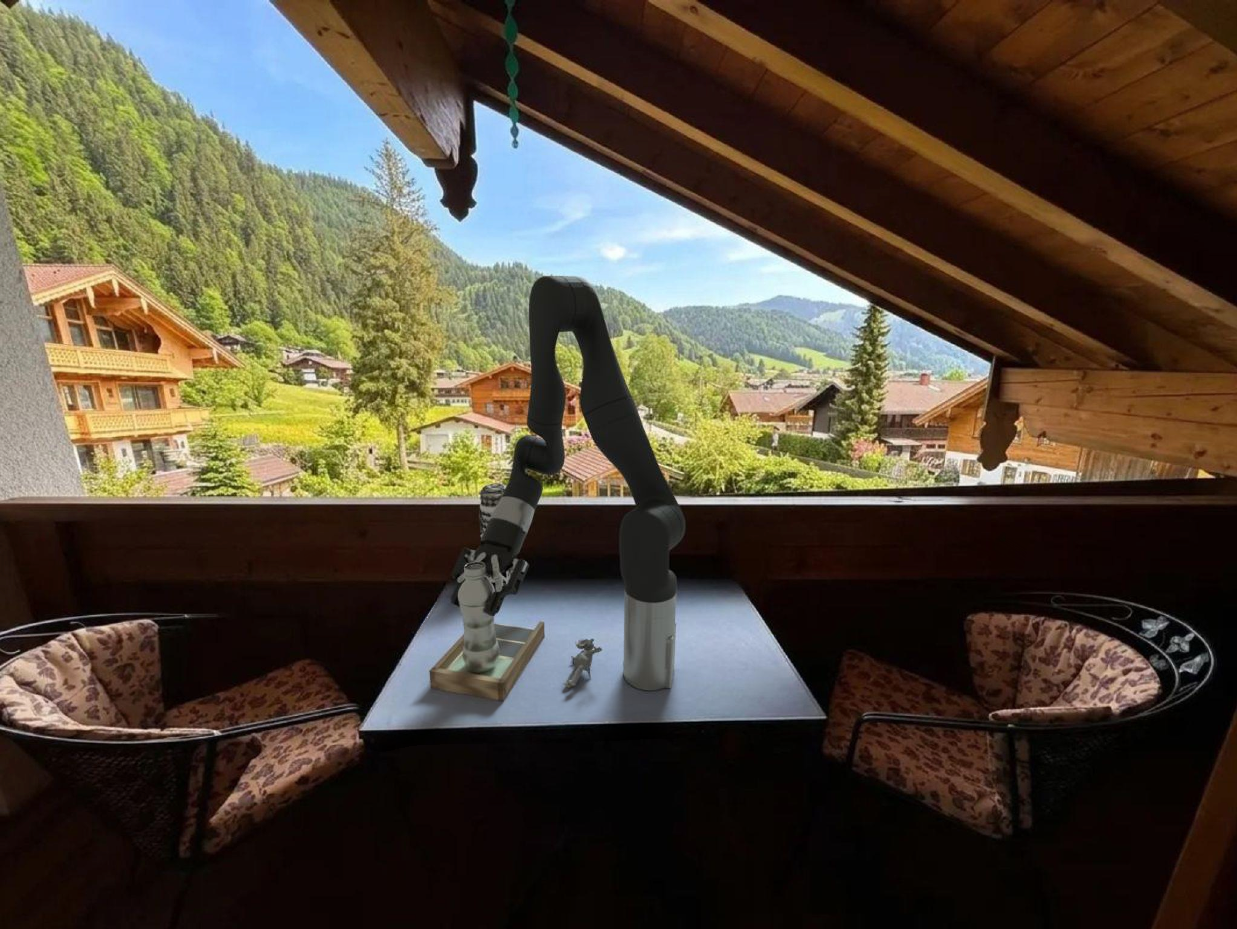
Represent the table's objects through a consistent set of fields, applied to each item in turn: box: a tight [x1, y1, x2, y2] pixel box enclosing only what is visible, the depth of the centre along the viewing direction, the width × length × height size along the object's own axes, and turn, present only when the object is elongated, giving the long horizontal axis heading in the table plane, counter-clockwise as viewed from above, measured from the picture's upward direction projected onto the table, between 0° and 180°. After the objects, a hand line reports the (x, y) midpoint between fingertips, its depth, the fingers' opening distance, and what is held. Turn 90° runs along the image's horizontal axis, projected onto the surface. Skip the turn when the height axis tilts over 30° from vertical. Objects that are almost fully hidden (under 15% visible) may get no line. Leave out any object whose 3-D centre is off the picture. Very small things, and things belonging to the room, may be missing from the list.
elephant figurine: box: [563, 638, 603, 689], centre depth 84 cm, size 10×6×9 cm
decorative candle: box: [476, 482, 514, 583], centre depth 121 cm, size 9×9×25 cm
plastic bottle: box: [458, 561, 500, 673], centre depth 83 cm, size 6×7×20 cm
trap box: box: [428, 621, 546, 702], centre depth 89 cm, size 14×19×4 cm
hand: (472, 609), depth 81 cm, fingers open, 7 cm apart
